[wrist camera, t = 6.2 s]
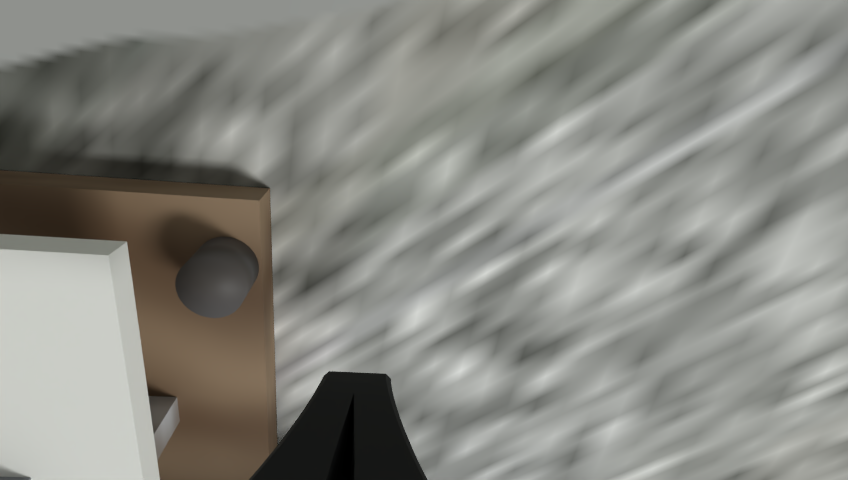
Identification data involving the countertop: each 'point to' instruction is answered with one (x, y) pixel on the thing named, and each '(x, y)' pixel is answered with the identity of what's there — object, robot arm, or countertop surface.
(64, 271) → the levelling deck
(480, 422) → the countertop surface
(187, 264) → the levelling stand
